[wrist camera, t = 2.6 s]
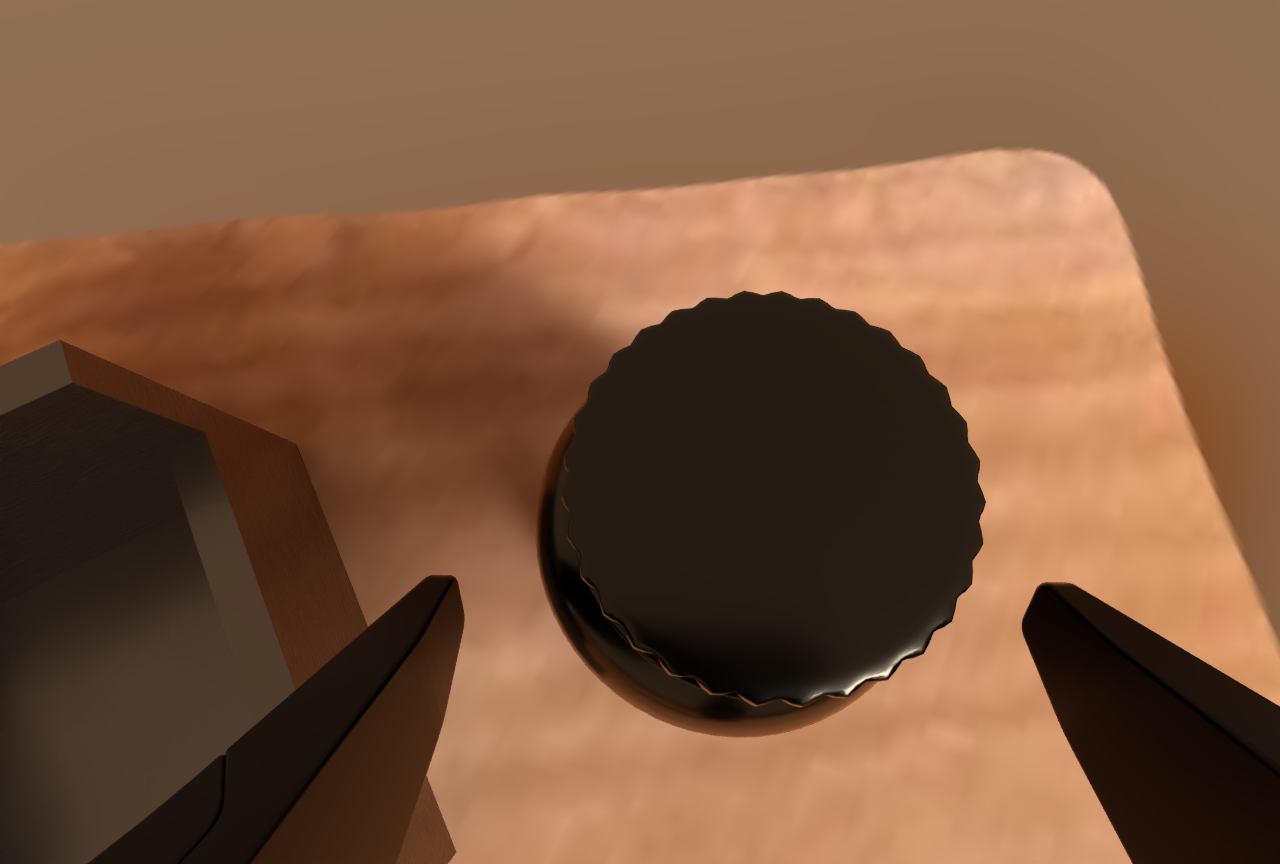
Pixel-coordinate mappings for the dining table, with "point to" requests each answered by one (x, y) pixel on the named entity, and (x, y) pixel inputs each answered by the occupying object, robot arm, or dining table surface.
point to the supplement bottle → (757, 515)
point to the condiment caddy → (148, 600)
